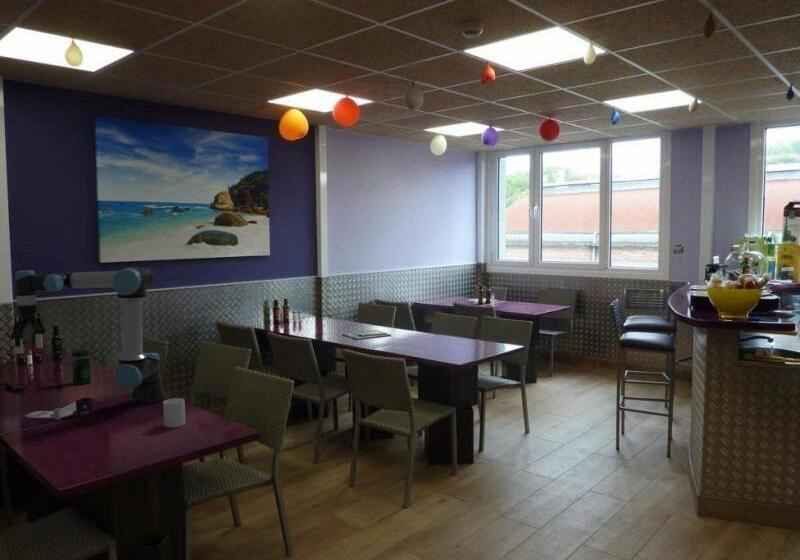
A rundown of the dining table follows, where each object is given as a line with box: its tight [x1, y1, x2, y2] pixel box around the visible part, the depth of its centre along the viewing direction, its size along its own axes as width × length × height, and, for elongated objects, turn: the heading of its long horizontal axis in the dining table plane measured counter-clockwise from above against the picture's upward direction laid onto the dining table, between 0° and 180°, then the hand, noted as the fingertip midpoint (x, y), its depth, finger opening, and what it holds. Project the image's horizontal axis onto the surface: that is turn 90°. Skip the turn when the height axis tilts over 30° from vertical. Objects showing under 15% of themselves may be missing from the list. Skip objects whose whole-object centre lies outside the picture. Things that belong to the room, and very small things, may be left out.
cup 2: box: [162, 397, 186, 429], centre depth 251 cm, size 8×12×10 cm
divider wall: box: [53, 397, 82, 421], centre depth 266 cm, size 2×18×4 cm, turn 178°
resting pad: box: [25, 410, 74, 419], centre depth 265 cm, size 20×9×1 cm, turn 87°
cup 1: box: [75, 397, 94, 418], centre depth 266 cm, size 7×10×7 cm
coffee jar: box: [71, 348, 92, 385], centre depth 320 cm, size 10×8×19 cm
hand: (29, 350), depth 272 cm, fingers open, 13 cm apart
